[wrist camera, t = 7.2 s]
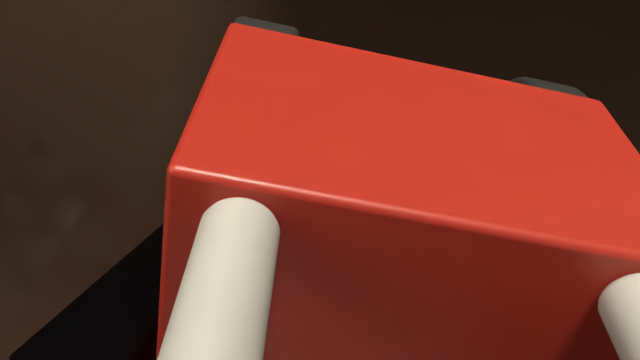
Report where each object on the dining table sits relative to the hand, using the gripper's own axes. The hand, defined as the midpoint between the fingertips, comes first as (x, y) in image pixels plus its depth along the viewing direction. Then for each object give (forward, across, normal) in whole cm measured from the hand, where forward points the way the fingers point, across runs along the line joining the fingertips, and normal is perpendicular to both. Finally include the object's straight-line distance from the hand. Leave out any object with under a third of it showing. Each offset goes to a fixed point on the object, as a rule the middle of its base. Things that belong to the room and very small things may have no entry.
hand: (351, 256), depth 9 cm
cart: (+1, 0, 0) cm, 1 cm away
